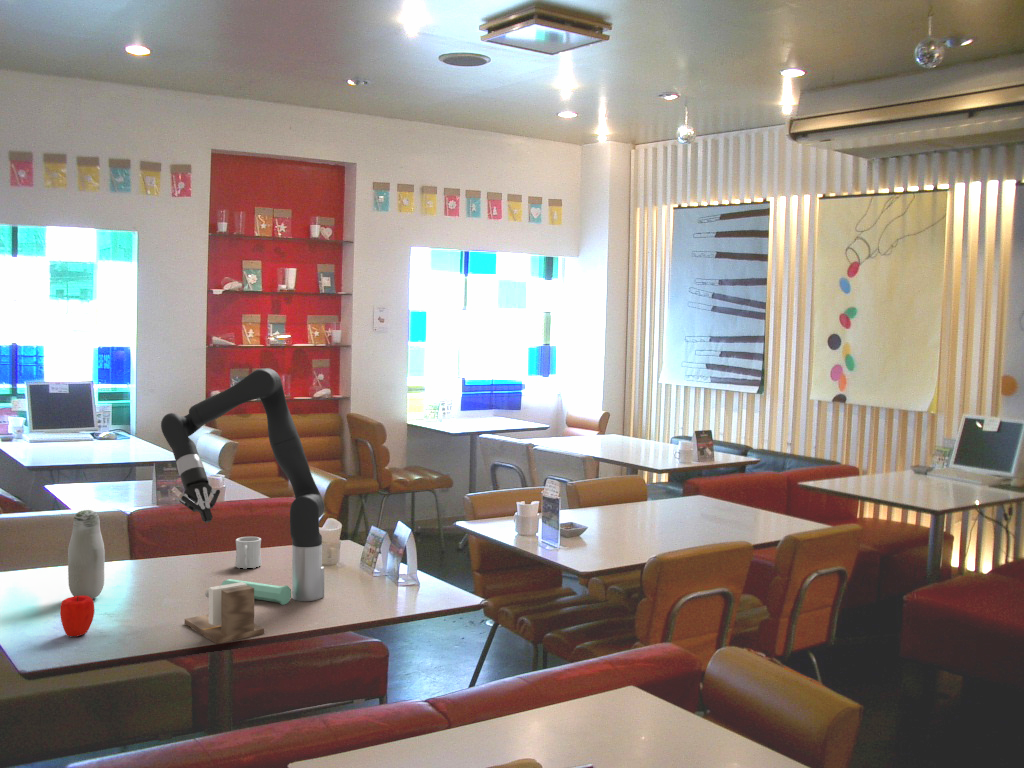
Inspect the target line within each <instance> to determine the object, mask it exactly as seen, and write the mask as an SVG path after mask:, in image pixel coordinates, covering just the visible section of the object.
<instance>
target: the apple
mask: <svg viewBox="0 0 1024 768" xmlns="http://www.w3.org/2000/svg"><path fill="white" fill-rule="evenodd" d="M59 608H60V612H59V614H60V622H61V625H62V628H63V630H64V633H65V634H66V636H67V637H69V636H76V637H79V636H83V635H85V634H86V633H88V631H89V630H90V627H91V625H92V623H93V620H94V616H95V602H94V599H92V598H90V597H89V596H71V597H67V598H65V599H63V600H62V601H61V603H60V607H59Z"/></svg>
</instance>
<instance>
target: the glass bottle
mask: <svg viewBox="0 0 1024 768" xmlns="http://www.w3.org/2000/svg"><path fill="white" fill-rule="evenodd" d="M100 521H101V520H100V517H99V514H98V513H97V512H96V511H94V510H91V509H86V510H85V509H84V510H81V511H78V512H77V513H76V514H75V515H74V518H73V521H72V522H73V523H72V531H71V535H70V536H71V537H70V540H69V544H68V548H67V569H68V571H67V572H68V577H67V579H68V587H69V588H68V589H69V591H70V593H71V595H72V597H74V596H89V597H90V598H92V599H93V600H95V599H96V598H97V597H98V596H100V594H101V593H102V591H103V589H104V586H105V562H106V561H105V559H106V557H105V554H106V550H105V543H104V538H103V535H102V532H101V525H100V524H101V523H100Z"/></svg>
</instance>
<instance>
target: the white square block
mask: <svg viewBox="0 0 1024 768" xmlns="http://www.w3.org/2000/svg"><path fill="white" fill-rule="evenodd" d="M242 586H247V584H245V583H243V582H239V583H233V584H227V585H221V584H220V585H215V586H210V587H208V590H209V598H208V614H209V623H210V624H212V625H218V624H221V590H225V589H231V588H236V587H242Z"/></svg>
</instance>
